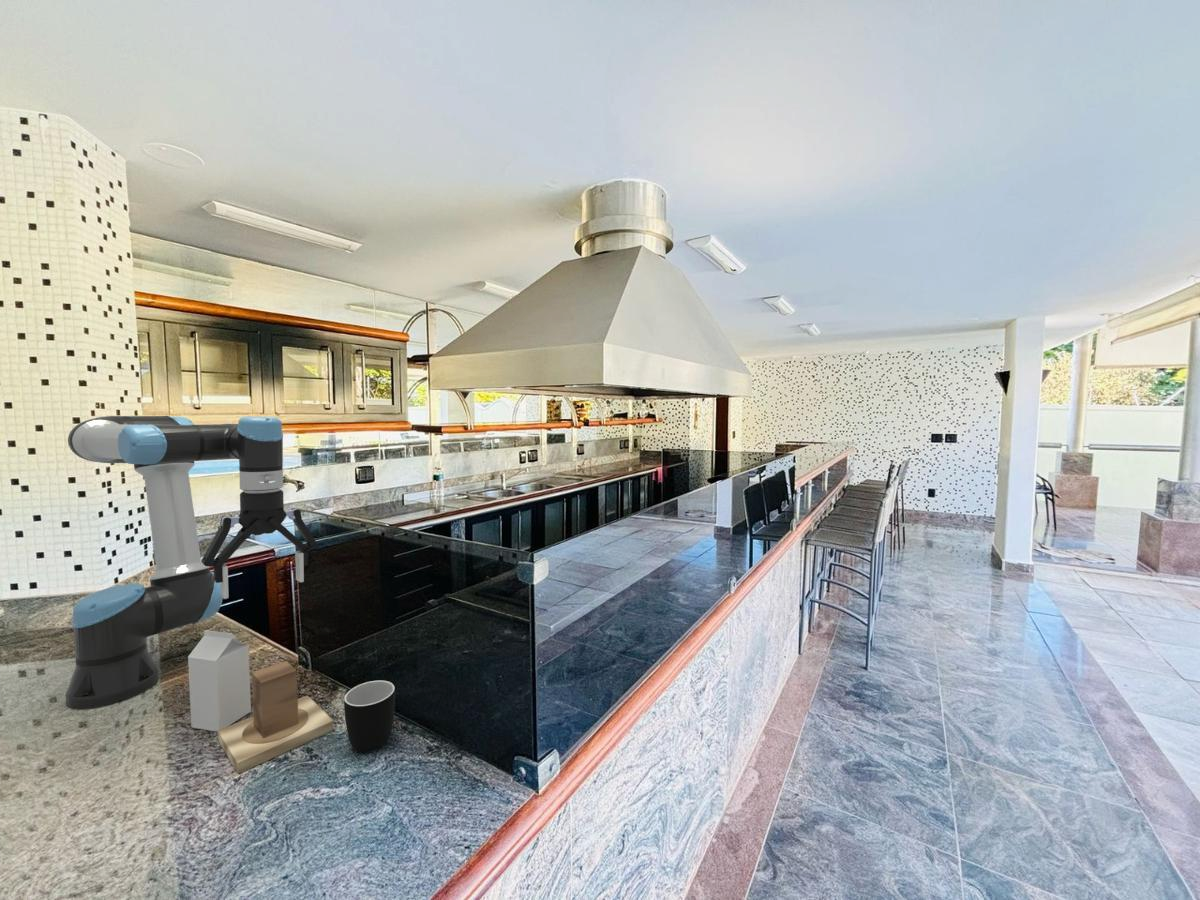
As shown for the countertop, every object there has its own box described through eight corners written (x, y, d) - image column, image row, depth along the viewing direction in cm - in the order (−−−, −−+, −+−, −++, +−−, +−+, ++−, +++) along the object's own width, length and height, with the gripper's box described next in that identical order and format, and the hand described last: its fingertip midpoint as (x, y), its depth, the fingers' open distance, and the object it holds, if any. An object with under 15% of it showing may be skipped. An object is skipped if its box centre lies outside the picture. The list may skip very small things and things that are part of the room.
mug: (405, 737, 96) (404, 687, 96) (364, 764, 88) (362, 711, 88) (368, 718, 102) (367, 671, 102) (326, 742, 94) (324, 692, 94)
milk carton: (219, 732, 97) (215, 641, 96) (190, 728, 98) (186, 637, 97) (251, 712, 104) (248, 626, 103) (224, 708, 105) (220, 623, 104)
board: (217, 740, 95) (217, 729, 95) (307, 703, 107) (307, 694, 107) (238, 773, 86) (237, 762, 86) (333, 730, 98) (333, 719, 98)
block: (253, 725, 96) (251, 672, 95) (288, 711, 101) (286, 660, 100) (263, 738, 92) (261, 682, 91) (298, 723, 97) (296, 670, 96)
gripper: (188, 499, 90) (192, 610, 91) (332, 486, 108) (333, 578, 110) (181, 494, 94) (184, 599, 96) (319, 482, 113) (321, 570, 115)
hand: (264, 588), depth 103 cm, fingers open, 13 cm apart
